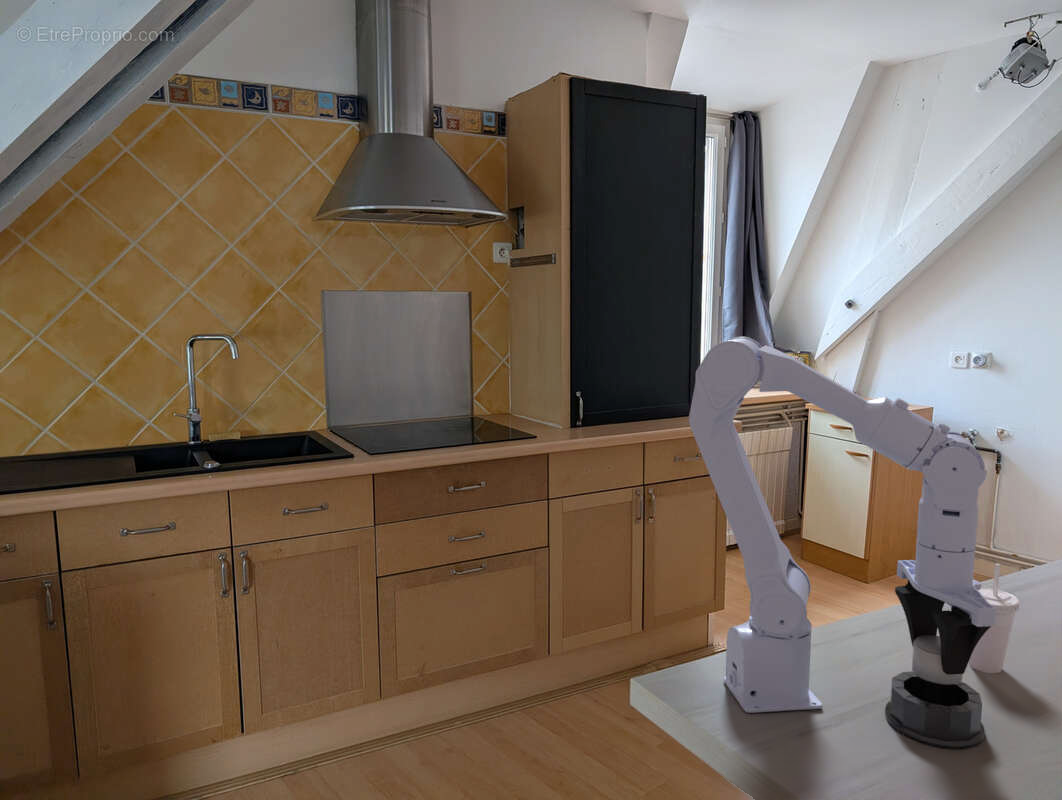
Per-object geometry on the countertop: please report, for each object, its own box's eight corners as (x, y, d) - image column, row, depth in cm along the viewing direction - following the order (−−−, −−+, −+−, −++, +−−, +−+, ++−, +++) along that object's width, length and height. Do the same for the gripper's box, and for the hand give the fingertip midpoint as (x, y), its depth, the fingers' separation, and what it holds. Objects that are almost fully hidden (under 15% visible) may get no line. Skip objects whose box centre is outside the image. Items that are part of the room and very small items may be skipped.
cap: (930, 685, 83) (932, 655, 82) (902, 664, 88) (904, 635, 87) (972, 682, 83) (974, 652, 83) (942, 662, 88) (944, 633, 88)
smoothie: (1022, 680, 96) (1031, 574, 94) (967, 676, 97) (974, 571, 95) (1002, 657, 102) (1010, 557, 100) (950, 653, 103) (957, 554, 101)
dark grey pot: (917, 752, 81) (920, 717, 80) (868, 702, 91) (869, 671, 90) (1005, 746, 82) (1008, 711, 81) (946, 698, 92) (949, 667, 91)
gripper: (1028, 565, 77) (1017, 691, 78) (938, 523, 91) (931, 630, 93) (962, 568, 76) (953, 695, 78) (882, 525, 90) (876, 633, 92)
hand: (937, 660), depth 85 cm, fingers closed on cap, 5 cm apart
